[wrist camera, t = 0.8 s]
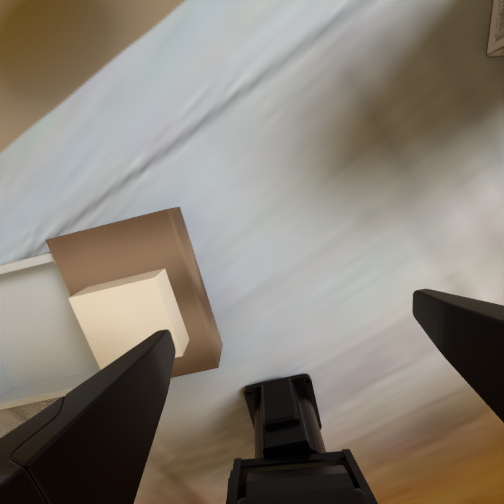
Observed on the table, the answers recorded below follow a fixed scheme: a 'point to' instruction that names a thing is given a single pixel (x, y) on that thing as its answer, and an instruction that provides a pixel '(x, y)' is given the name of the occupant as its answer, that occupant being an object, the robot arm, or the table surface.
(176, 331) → the block
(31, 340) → the box
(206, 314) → the brown rectangular slab
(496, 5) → the coffee box
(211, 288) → the table surface
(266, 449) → the robot arm
